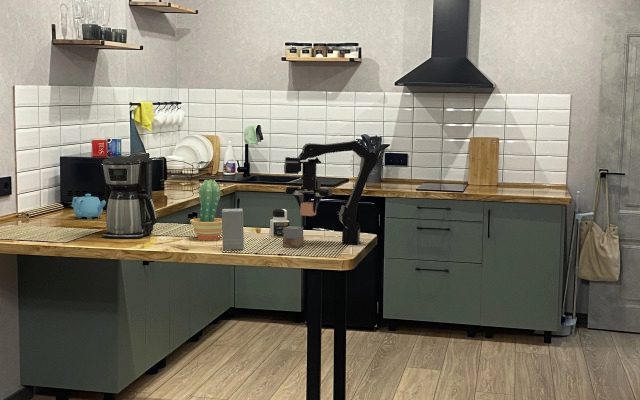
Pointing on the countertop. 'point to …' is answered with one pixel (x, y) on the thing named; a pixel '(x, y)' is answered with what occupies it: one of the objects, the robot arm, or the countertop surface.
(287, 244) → the walnut block
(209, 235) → the potted cactus
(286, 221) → the medicine bottle
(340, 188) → the countertop surface
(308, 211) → the terracotta cube
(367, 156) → the robot arm
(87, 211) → the teapot
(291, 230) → the charcoal block
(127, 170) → the coffee maker
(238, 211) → the skincare box
